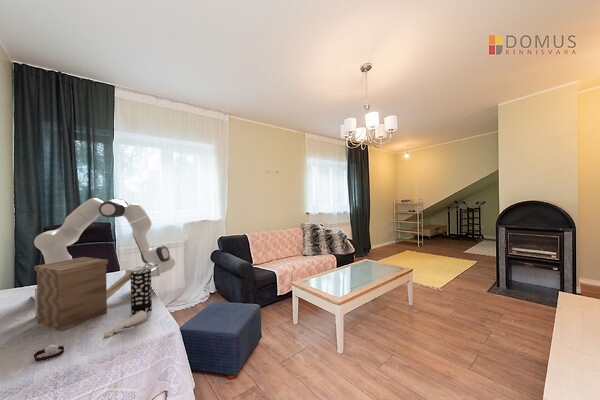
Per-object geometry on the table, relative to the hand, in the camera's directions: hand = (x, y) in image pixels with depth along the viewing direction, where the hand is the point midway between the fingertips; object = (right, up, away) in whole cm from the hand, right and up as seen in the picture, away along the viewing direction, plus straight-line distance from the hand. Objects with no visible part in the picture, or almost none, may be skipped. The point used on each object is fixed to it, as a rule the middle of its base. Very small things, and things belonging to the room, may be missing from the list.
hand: (127, 275), depth 135 cm
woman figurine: (+25, -12, -34) cm, 44 cm away
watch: (+12, -12, -53) cm, 55 cm away
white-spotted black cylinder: (+22, -11, -20) cm, 32 cm away
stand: (-7, -12, -25) cm, 29 cm away
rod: (-2, -5, -5) cm, 7 cm away
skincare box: (-23, -12, -22) cm, 34 cm away
